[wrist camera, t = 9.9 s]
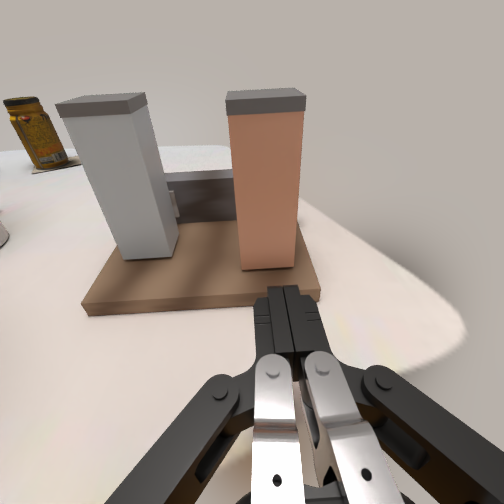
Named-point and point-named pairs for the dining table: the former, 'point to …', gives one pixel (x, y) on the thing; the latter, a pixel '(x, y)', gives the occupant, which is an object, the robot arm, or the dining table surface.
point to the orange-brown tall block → (266, 172)
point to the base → (196, 259)
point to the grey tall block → (124, 170)
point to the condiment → (38, 134)
